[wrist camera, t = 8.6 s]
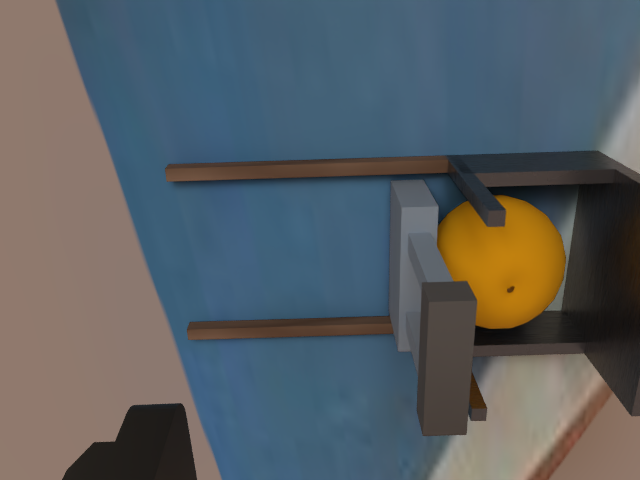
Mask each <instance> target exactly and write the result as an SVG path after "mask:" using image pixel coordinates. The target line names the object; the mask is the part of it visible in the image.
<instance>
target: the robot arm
mask: <svg viewBox="0 0 640 480" xmlns="http://www.w3.org/2000/svg"><path fill="white" fill-rule="evenodd" d="M62 480H197V477H196V470H195V464H194V458H193V452H192V446H191V440H190V434H189V429H188V423H187V418H186V412H185V408H184V406H183V405H182V404H181V403H177V404H152V405H133V406H131V407H130V409H129V410H128V412H127V414H126V416H125V419H124V421H123V424H122V426H121V428H120V431H119V433H118V436H117V438H116V441H115V442H94V443H93V444H92V445H91V446H90V447H89V448H88V449H87V450H86V451H85V452H84V453H83V454H82V455H81V456H80V457H79V458H78V459H77V460H76V461H75V462H74V463H73V464H72V466H71V467H69V468H68V470H67V471H66V473H65V475H64V477H63V479H62Z"/></svg>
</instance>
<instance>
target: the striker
mask: <svg viewBox="0 0 640 480" xmlns="http://www.w3.org/2000/svg"><path fill="white" fill-rule="evenodd" d="M438 209H439V206H438V204H437V203H436V201H435V199H434V198H433V196H432V194H431V192H430V191H429V189H428V187H427V185H426V184H425V182H424V180H393V181H391V198H390V259H389V314H390V319H391V323H392V327H393V331H394V336H395V340H396V344H397V349H398V352H407V351H411V352H412V356H413V360H414V364H415V367H416V371H417V375H418V391H417V414H418V418H419V422H420V426H421V430H422V434H423V436H441V435H466V433H467V421H468V409H469V397H470V384H471V372H472V360H473V348H474V336H475V323H476V311H477V299H476V297H475V295H474V293H473V291H472V289H471V288H470V286H469V284H468V282H467V281H453V279H452V277H451V275H450V273H449V271H448V269H447V266H446V264H445V262H444V260H443V258H442V256H441V254H440V252H439V250H438V248H437V229H438Z"/></svg>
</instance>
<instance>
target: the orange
mask: <svg viewBox="0 0 640 480" xmlns="http://www.w3.org/2000/svg"><path fill="white" fill-rule="evenodd" d="M493 196H494V197H495V198H496V199H497V200H498V202H499V203H500V204H501V205H502V206H503V207H504V208H505V209H506V218H505V227H487V226H486V224H485V223H484V222H483V220H482V219H481V218H480V216H479V215H478V214H477V212H476V211H475V209H474V208H473V207H472V205H471V204H470V203H469V201H466V202H463V203H462V204H460V205H459V206H458V207H456V208H455V209H453V210H452V211H451V212H449V213H448V214H447V215H446V217H445V218H444V219H443V220H442V222H441V223H440V224H439V225H438V229H437V248H438V250H439V252H440V254H441V256H442V258H443V260H444V262H445V264H446V266H447V269H448V271H449V273H450V275H451V277H452V279H453V281H467V282H468V284H469V286H470V288H471V289H472V291H473V293H474V295H475V297H476V299H477V311H476V323H475V325H476V326H480V327H485V328H489V329H503V328H513V327H516V326H519V325H521V324H524V323H527V322H529V321H530V320H532V319H533V318H535V317H536V316H538V315H539V314H541V313H542V312H543V311H544V310H545V309H546V308H547V307H548V305H549V304H550V303H551V302H552V301H553V300H554V298H555V296H556V294H557V292H558V290H559V288H560V286H561V283H562V281H563V278H564V271H565V264H566V256H565V251H564V246H563V241H562V237H561V235H560V233H559V232H558V230H557V229H556V228H555V226H554V225H553V224H552V222H551V221H550V219H549V218H548V217H547V215H546V214H544V213H543V212H541V211H540V210H538V209H537V208H535V207H534V206H532V205H531V204H529V203H528V202H526V201H524V200H520V199H517V198H513V197H509V196H506V195H493Z"/></svg>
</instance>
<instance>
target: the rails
mask: <svg viewBox="0 0 640 480" xmlns="http://www.w3.org/2000/svg"><path fill="white" fill-rule="evenodd" d="M447 171H448V159H447V158H446V157H445V156H415V157H383V158H352V159H320V160H289V161H257V162H225V163H194V164H169V165H168V166H167V167H166V168H165V172H166V179H167V182H168V181H199V180H231V179H263V178H295V177H326V176H358V175H390V174H421V173H447ZM187 334H188V340H201V339H234V338H267V337H300V336H333V335H366V334H394V331H393V327H392V323H391V319H390V316H373V317H340V318H308V319H275V320H242V321H209V322H190V323H189V326H188V328H187Z"/></svg>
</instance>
